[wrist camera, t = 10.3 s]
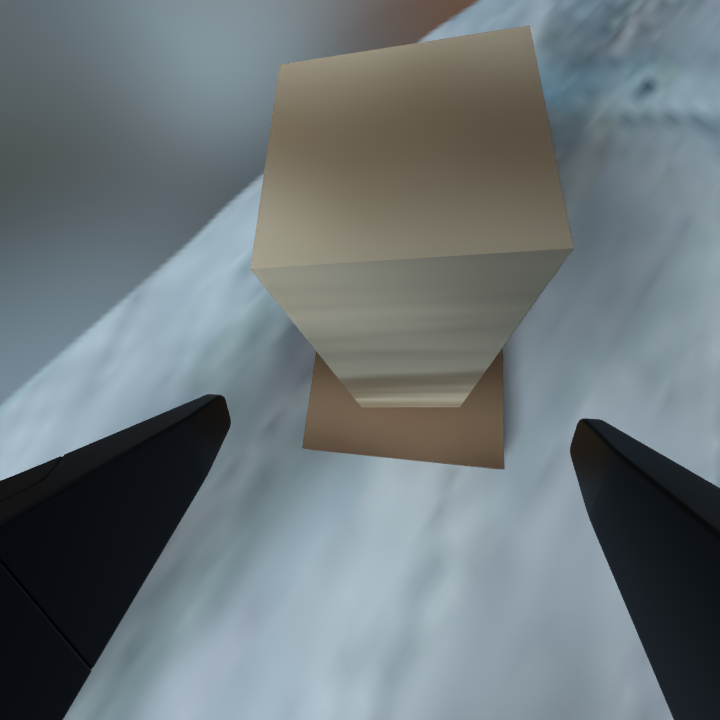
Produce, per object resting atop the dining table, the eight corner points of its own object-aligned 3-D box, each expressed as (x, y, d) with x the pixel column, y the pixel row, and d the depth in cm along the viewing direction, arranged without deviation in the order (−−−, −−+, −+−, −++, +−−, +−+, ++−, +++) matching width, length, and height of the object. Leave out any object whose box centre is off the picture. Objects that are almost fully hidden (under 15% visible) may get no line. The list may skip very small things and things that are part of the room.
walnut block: (492, 468, 18) (504, 469, 16) (315, 450, 20) (302, 448, 18) (491, 301, 21) (501, 281, 19) (335, 297, 23) (327, 278, 21)
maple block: (459, 407, 17) (573, 248, 5) (361, 407, 18) (250, 269, 6) (453, 316, 19) (529, 25, 7) (363, 320, 19) (279, 64, 7)
